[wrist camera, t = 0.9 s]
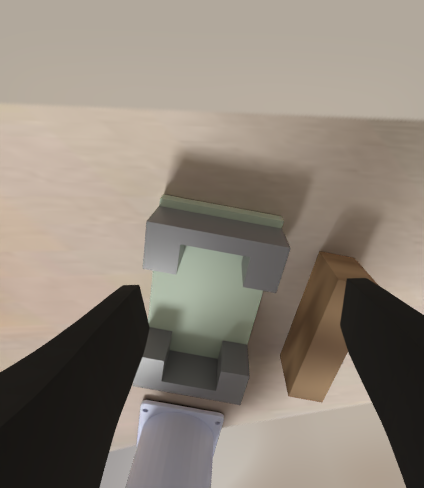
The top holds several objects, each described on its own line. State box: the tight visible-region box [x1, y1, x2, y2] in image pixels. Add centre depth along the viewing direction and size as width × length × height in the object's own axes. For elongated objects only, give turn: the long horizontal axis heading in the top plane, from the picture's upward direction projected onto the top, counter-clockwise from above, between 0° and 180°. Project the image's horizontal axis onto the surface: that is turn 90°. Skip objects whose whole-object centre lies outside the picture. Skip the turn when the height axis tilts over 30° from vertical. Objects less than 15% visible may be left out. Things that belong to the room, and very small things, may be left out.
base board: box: [148, 195, 284, 359], centre depth 21 cm, size 14×8×1 cm, turn 170°
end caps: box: [133, 206, 290, 405], centre depth 19 cm, size 13×8×3 cm, turn 170°
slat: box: [280, 251, 378, 402], centre depth 20 cm, size 10×2×4 cm, turn 170°
